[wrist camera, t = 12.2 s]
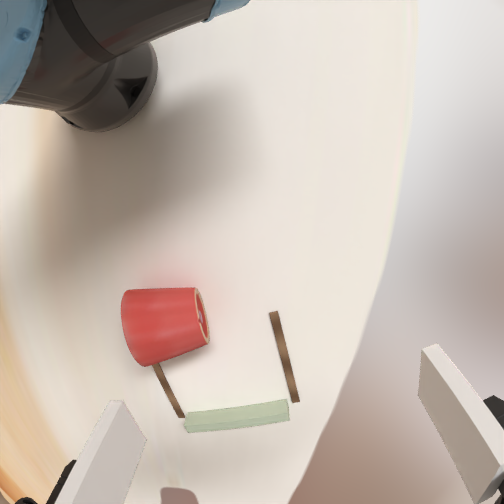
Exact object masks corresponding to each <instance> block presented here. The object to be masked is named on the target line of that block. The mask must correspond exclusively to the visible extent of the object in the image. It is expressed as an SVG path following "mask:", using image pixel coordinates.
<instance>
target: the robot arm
mask: <svg viewBox="0 0 504 504" xmlns="http://www.w3.org/2000/svg"><path fill="white" fill-rule="evenodd" d="M249 1H250V0H0V104H11V105H19V106H27V107H34V108H40V109H46V110H52V111H55V112H56V113H57V114H58V115H59V116H61V117H62V118H63V119H64V120H65V121H66V122H67V123H68V124H70V125H71V126H73V127H75V128H77V129H80V130H85V131H93V132H102V131H108V130H111V129H114V128H116V127H119V126H121V125H122V124H124V123H126V122H127V121H129V120H130V119H131V118H132V117H134V116H135V115H136V114H137V113H138V112H139V111H140V109H141V108H142V107H143V106H144V104H145V103H146V101H147V100H148V98H149V96H150V95H151V93H152V90H153V88H154V85H155V82H156V78H157V70H158V63H157V57H156V53H155V50H154V48H153V46H152V45H151V43H150V42H151V41H153V40H155V39H157V38H160V37H162V36H164V35H167V34H169V33H172V32H174V31H177V30H179V29H182V28H185V27H187V26H190V25H193V24H196V23H198V22H203V23H205V22H208V21H210V20H212V19H213V18H214V17H216V16H219V15H222V14H224V13H227V12H230V11H233V10H236V9H239V8H241V7H243V6H245V5H246V4H247V3H248V2H249ZM418 396H419V398H420V400H421V402H422V404H423V405H424V407H425V409H426V410H427V412H428V414H429V416H430V418H431V420H432V422H433V423H434V425H435V427H436V429H437V431H438V432H439V434H440V436H441V438H442V440H443V442H444V444H445V446H446V448H447V450H448V451H449V453H450V455H451V457H452V459H453V461H454V463H455V465H456V467H457V469H458V471H459V473H460V475H461V477H462V479H463V481H464V483H465V486H466V487H467V490H468V492H469V494H470V496H471V498H472V500H473V503H474V504H479V503H481V502H483V501H485V500H487V499H488V498H490V497H492V496H493V495H494V494H495V492H496V491H497V489H499V491H500V493H501V495H500V497H499V498H498V499H497V500H496V502H495V504H504V401H503V400H501V399H499V398H497V397H496V396H494V395H493V396H491V397H489V398H487V399H485V400H483V401H482V399H481V398H480V397H479V395H478V394H477V393H476V392H475V390H474V389H473V388H472V386H471V385H470V384H469V382H468V381H467V380H466V378H465V377H464V376H463V375H462V373H461V372H460V371H459V370H458V368H457V367H456V366H455V365H454V363H453V362H452V361H451V360H450V358H449V357H448V356H447V355H446V354H445V352H444V351H443V350H442V349H441V347H440V346H439V345H438V344H434V345H431V346H429V347H425V348H423V349H422V352H421V367H420V379H419V389H418ZM146 441H147V439H146V437H145V436H144V434H143V432H142V431H141V429H140V428H139V426H138V425H137V423H136V421H135V420H134V418H133V416H132V415H131V413H130V412H129V410H128V408H127V406H126V405H125V403H124V401H123V400H119V401H109V403H108V405H107V406H106V408H105V410H104V412H103V414H102V415H101V417H100V419H99V421H98V422H97V424H96V426H95V428H94V430H93V431H92V433H91V435H90V437H89V439H88V441H87V442H86V444H85V446H84V448H83V450H82V452H81V454H80V455H79V457H78V459H77V460H72V461H71V462H70V463H69V464H68V465H67V466H66V467H65V469H64V471H63V472H62V474H61V478H59V480H58V482H57V484H56V486H55V487H54V489H53V491H52V493H51V495H50V497H49V499H48V501H47V503H46V504H124V501H125V498H126V496H127V493H128V490H129V487H130V484H131V482H132V479H133V476H134V473H135V471H136V468H137V465H138V462H139V460H140V457H141V454H142V452H143V449H144V446H145V443H146ZM15 504H37V503H36V502H35V501H34V500H33V499H32V498H28V497H25V498H21V499H19V500H18V501H17V502H16V503H15Z"/></svg>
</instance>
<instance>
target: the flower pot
mask: <svg viewBox="0 0 504 504" xmlns="http://www.w3.org/2000/svg"><path fill="white" fill-rule="evenodd" d="M121 319H122V326H123V331H124V335H125V339H126V342H127V345H128V347H129V350H130V352H131V354H132V355H133V357H134V359H135V360H136V361H137V362H138V363H139V364H140V365H141V366H144V367H146V366H150V365H153V364H157V363H160V362H162V361H165V360H168V359H171V358H174V357H176V356H179V355H182V354H184V353H187V352H189V351H192V350H194V349H197V348H199V347H202V346H204V345H207V344H208V343H209V341H210V336H209V327H208V322H207V317H206V313H205V309H204V305H203V301H202V298H201V295H200V293H199V292H198V289H197V288H161V289H134V290H127V291H126V292H125V293H124V295H123V298H122V303H121Z"/></svg>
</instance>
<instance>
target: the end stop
mask: <svg viewBox="0 0 504 504" xmlns="http://www.w3.org/2000/svg"><path fill="white" fill-rule="evenodd" d="M289 420H290V418H289V407H288V403H287V399H283V400H278V401H272V402H267V403H261V404H255V405H248V406H241V407H234V408H226V409H218V410H209V411H199V412H188V413H187V417H186V420H185V424H184V427H185V428H186V430H187V432H188V433H193V432H207V431H218V430H228V429H236V428H245V427H252V426H259V425H266V424H272V423H278V422H284V421H289Z"/></svg>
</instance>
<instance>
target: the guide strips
mask: <svg viewBox="0 0 504 504" xmlns="http://www.w3.org/2000/svg"><path fill="white" fill-rule="evenodd" d="M269 314H270V318H271V321H272V325H273V329H274V333H275V337H276V341H277V344H278V348H279V352H280V356H281V360H282V364H283V367H284V371H285V375H286V379H287V383H288V387H289V390H290V394H291V398H292V402H293V403H295V402H300V400H299V396H298V392H297V388H296V384H295V380H294V376H293V372H292V367H291V363H290V359H289V355H288V351H287V347H286V343H285V339H284V335H283V331H282V327H281V323H280V319H279V315H278V311H275V312H271V313H269ZM152 366H153V368H154V370H155V373H156V375H157V377H158V379H159V381H160V383H161V385H162V387H163V389H164V391H165V393H166V395H167V397H168V399H169V400H170V402H171V404H172V406H173V408H174V410H175V412H176V414H177V415H178V417H179V418H185V415H184V414H183V412H182V410H181V408H180V406H179V404H178V402H177V400H176V398H175V396H174V394H173V392H172V390H171V388H170V386H169V384H168V382H167V380H166V378H165V376H164V374H163V371H162V369H161V367H160V365H159V363H157V364H153V365H152Z"/></svg>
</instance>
